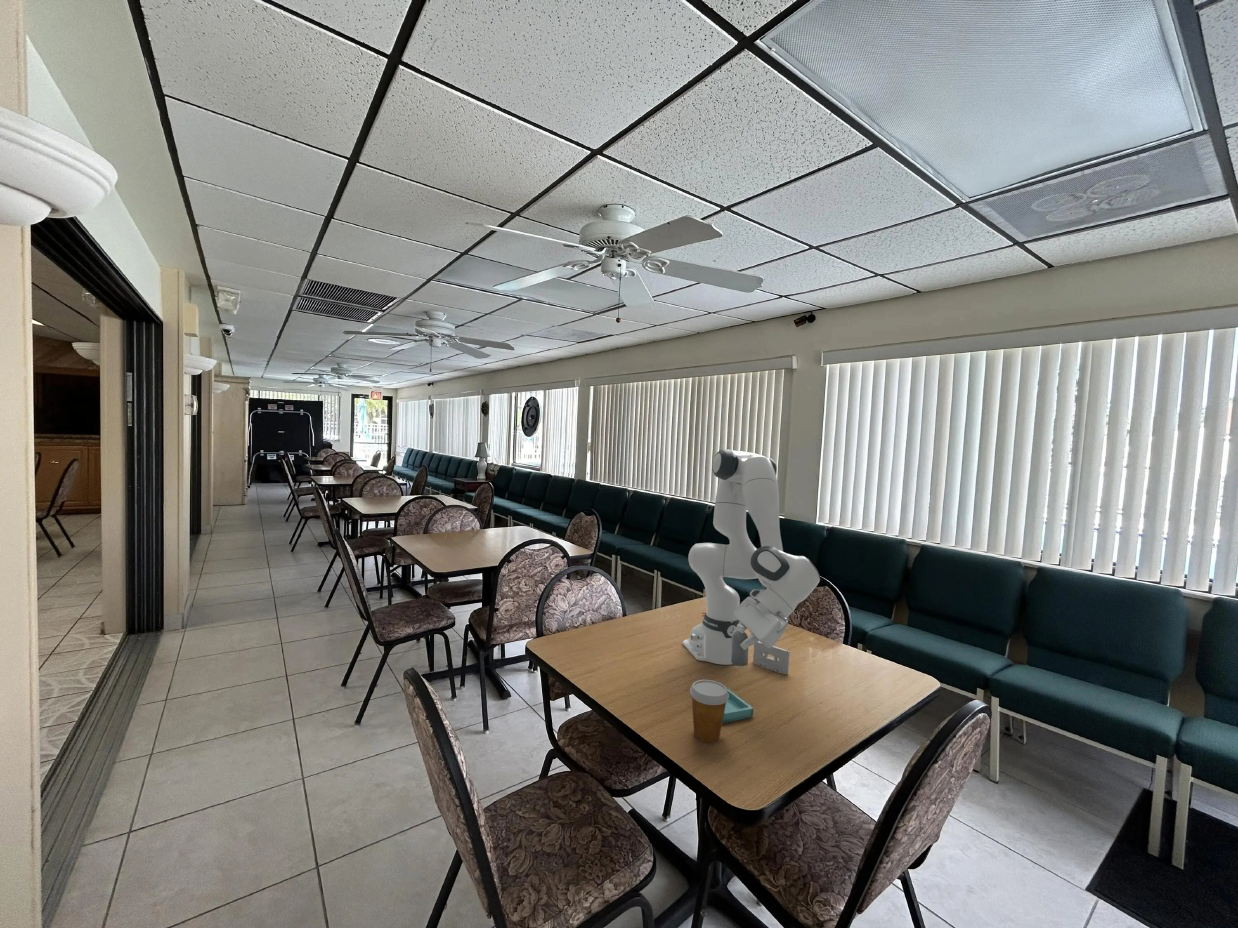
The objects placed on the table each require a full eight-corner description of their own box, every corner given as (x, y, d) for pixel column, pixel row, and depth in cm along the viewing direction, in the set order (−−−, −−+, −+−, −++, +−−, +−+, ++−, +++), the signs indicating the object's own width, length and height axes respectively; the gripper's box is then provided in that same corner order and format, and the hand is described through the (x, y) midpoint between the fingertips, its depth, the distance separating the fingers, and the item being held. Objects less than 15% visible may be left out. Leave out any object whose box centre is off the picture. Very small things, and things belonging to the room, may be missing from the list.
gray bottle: (727, 660, 137) (728, 623, 137) (740, 657, 139) (741, 621, 139) (738, 667, 133) (739, 629, 133) (751, 664, 135) (752, 626, 135)
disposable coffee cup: (720, 724, 129) (723, 679, 129) (730, 746, 120) (733, 697, 119) (684, 723, 129) (687, 677, 128) (691, 745, 119) (694, 696, 119)
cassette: (752, 663, 169) (753, 641, 169) (754, 662, 170) (755, 639, 170) (786, 675, 161) (788, 652, 161) (788, 673, 163) (790, 650, 162)
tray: (696, 701, 141) (697, 692, 141) (725, 695, 145) (726, 687, 145) (722, 723, 130) (722, 714, 130) (752, 716, 134) (753, 708, 134)
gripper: (798, 629, 127) (760, 668, 126) (764, 602, 147) (731, 635, 146) (783, 612, 126) (744, 651, 125) (750, 587, 146) (717, 621, 145)
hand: (737, 642), depth 136 cm, fingers closed on gray bottle, 4 cm apart
